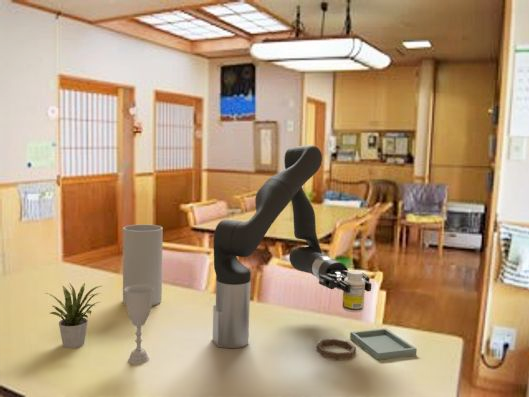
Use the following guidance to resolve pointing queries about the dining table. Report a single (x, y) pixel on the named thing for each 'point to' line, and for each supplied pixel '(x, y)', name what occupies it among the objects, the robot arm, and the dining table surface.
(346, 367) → the dining table surface
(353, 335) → the tray
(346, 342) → the holder ring
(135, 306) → the chalice
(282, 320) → the dining table surface
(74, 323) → the house plant
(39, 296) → the dining table surface
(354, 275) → the supplement bottle
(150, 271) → the cylinder vase
